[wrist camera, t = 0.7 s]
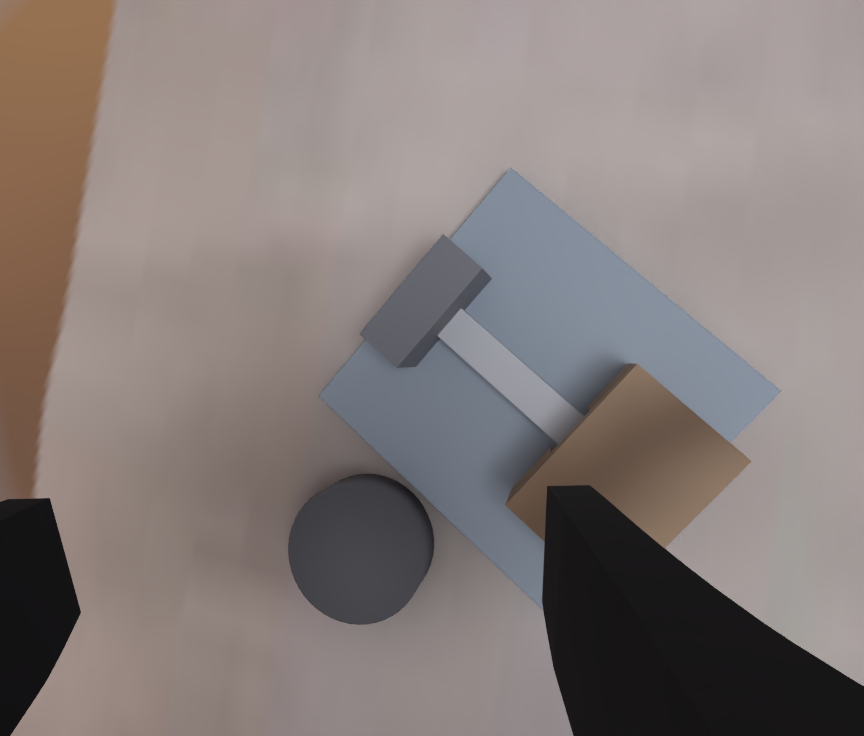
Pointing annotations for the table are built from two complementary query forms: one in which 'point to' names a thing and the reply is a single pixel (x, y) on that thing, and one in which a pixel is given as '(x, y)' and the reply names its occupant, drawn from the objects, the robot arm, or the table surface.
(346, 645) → the table surface
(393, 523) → the dark gray cylinder
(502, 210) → the board
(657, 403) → the block
